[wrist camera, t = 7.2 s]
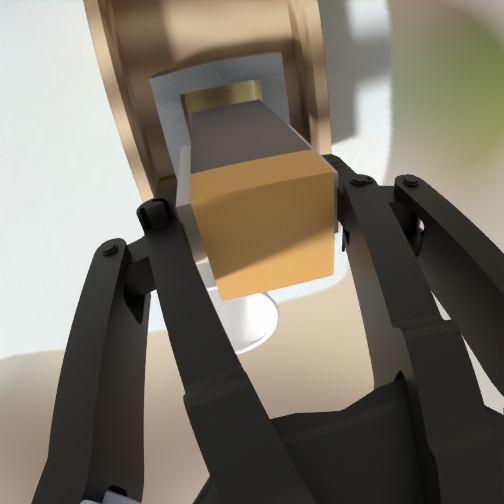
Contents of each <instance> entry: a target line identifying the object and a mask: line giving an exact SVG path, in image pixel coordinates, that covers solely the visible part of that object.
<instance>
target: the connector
mask: <svg viewBox="0 0 504 504" xmlns="http://www.w3.org/2000/svg"><path fill="white" fill-rule="evenodd" d="M190 202H191V205H192V209H193V212H194V215H195V218H196V222H197V225H198V228H199V232H200V235H201V238H202V241H203V244H204V248H205V251H206V254H207V257H208V260H209V263H210V266H211V270H212V273H213V276H214V279H215V282H216V285H217V288H218V291H219V294H220V297H221V300H222V302H223V301H227V300H232V299H236V298H240V297H245V296H249V295H253V294H258V293H262V292H266V291H271V290H275V289H279V288H283V287H287V286H291V285H295V284H299V283H303V282H307V281H311V280H315V279H319V278H323V277H327V276H331V275H333V268H334V171H333V170H332V169H331V168H330V167H329V166H328V165H327V164H326V163H325V162H324V161H323V160H322V159H321V158H320V157H319V156H318V155H317V154H316V153H315V152H314V151H313V150H312V149H311V148H310V147H309V146H308V145H307V144H306V143H305V142H304V141H303V140H302V139H301V138H300V137H299V136H298V135H297V134H296V133H295V132H294V131H293V130H292V129H291V128H290V127H289V126H288V125H287V124H286V123H285V122H284V121H283V120H281V119H280V118H279V117H278V116H277V115H276V114H275V113H274V112H273V111H272V110H271V109H270V108H268V107H267V106H266V105H265V104H264V103H263V102H262V101H261V100H260V99H258V100H252V101H246V102H241V103H236V104H231V105H226V106H221V107H216V108H212V109H207V110H203V111H199V112H194V113H192V119H191V167H190Z"/></svg>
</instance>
